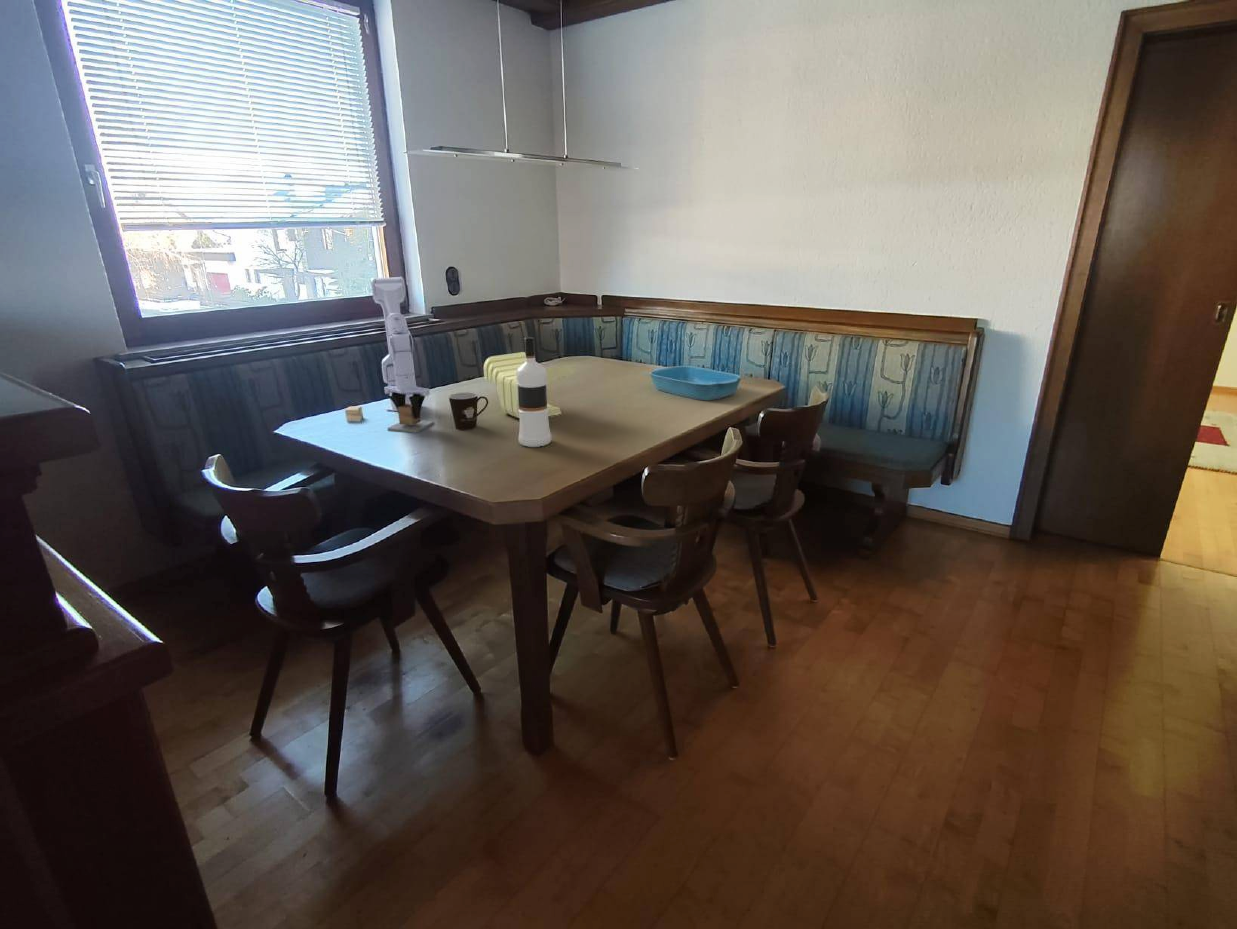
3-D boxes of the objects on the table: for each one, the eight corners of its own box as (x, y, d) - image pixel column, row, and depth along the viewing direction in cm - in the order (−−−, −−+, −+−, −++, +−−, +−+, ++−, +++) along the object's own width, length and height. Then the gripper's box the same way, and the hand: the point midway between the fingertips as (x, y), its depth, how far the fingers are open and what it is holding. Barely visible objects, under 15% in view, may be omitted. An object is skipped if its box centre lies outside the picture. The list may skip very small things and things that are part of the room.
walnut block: (408, 420, 204) (406, 403, 202) (420, 421, 203) (418, 404, 201) (399, 424, 200) (397, 407, 198) (412, 425, 199) (410, 407, 197)
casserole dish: (638, 388, 249) (638, 370, 247) (680, 380, 262) (680, 362, 260) (710, 406, 222) (710, 386, 220) (752, 396, 236) (753, 376, 233)
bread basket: (486, 409, 221) (482, 357, 215) (527, 402, 230) (524, 351, 224) (534, 429, 199) (530, 371, 193) (576, 419, 208) (574, 364, 202)
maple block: (350, 418, 213) (349, 406, 212) (363, 418, 213) (361, 406, 212) (346, 421, 209) (345, 409, 208) (359, 421, 209) (357, 409, 208)
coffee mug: (451, 432, 197) (447, 399, 193) (452, 424, 205) (449, 393, 201) (490, 429, 199) (487, 397, 195) (489, 421, 207) (487, 391, 203)
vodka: (518, 448, 181) (510, 340, 171) (519, 438, 189) (512, 335, 179) (551, 447, 182) (546, 339, 171) (551, 437, 190) (546, 334, 180)
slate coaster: (406, 421, 208) (406, 419, 208) (434, 423, 205) (433, 421, 205) (387, 430, 199) (387, 427, 199) (416, 432, 196) (415, 430, 196)
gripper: (375, 375, 195) (382, 419, 199) (418, 377, 191) (423, 422, 195) (390, 370, 201) (395, 413, 206) (431, 372, 197) (436, 416, 202)
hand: (410, 417), depth 201 cm, fingers closed on walnut block, 4 cm apart
